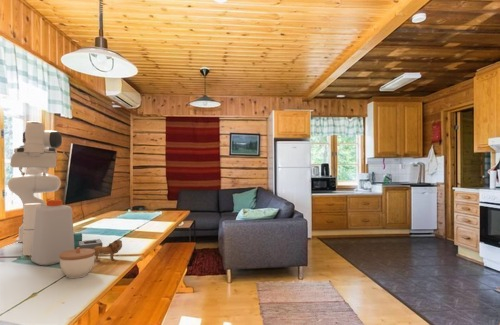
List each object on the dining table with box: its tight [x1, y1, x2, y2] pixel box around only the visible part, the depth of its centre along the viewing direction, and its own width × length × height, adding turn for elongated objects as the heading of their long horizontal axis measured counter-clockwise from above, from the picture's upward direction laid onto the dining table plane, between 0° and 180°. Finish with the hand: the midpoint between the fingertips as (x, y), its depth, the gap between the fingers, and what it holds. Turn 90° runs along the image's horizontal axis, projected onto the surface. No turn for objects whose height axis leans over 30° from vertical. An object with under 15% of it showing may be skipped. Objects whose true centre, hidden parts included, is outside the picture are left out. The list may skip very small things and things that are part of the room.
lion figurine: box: [94, 239, 123, 263], centre depth 142 cm, size 15×5×9 cm, turn 116°
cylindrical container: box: [22, 203, 41, 256], centre depth 152 cm, size 7×7×25 cm
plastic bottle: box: [30, 199, 75, 266], centre depth 142 cm, size 15×15×28 cm
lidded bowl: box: [59, 247, 96, 279], centre depth 122 cm, size 13×13×11 cm
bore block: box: [78, 238, 103, 249], centre depth 156 cm, size 10×10×5 cm
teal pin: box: [74, 232, 83, 249], centre depth 162 cm, size 4×4×8 cm
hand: (34, 175), depth 163 cm, fingers open, 8 cm apart
